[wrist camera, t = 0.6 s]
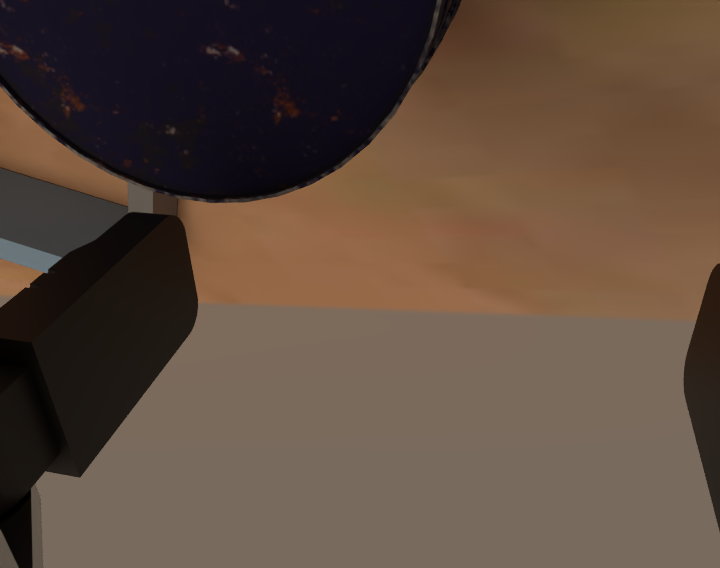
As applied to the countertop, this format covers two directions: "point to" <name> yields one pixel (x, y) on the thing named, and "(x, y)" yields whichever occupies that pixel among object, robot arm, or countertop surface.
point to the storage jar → (216, 84)
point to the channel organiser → (60, 218)
